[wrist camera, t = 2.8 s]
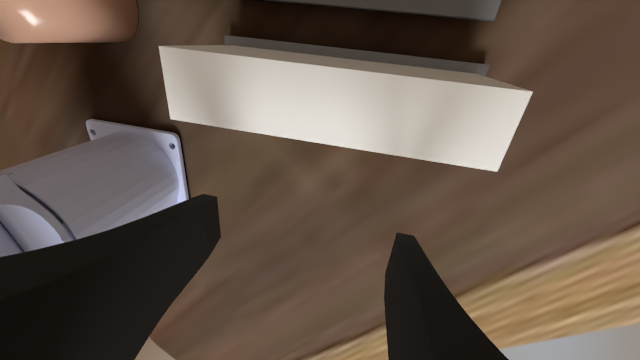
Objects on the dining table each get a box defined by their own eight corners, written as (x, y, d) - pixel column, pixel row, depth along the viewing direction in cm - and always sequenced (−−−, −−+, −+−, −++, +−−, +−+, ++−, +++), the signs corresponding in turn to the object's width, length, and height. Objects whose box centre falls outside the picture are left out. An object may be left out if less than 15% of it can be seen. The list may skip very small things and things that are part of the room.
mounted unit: (460, 133, 17) (505, 185, 11) (234, 100, 19) (162, 128, 13) (484, 63, 15) (556, 78, 9) (230, 35, 17) (144, 30, 11)
